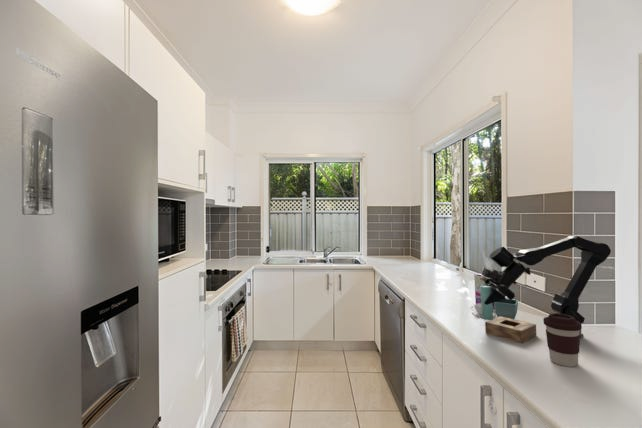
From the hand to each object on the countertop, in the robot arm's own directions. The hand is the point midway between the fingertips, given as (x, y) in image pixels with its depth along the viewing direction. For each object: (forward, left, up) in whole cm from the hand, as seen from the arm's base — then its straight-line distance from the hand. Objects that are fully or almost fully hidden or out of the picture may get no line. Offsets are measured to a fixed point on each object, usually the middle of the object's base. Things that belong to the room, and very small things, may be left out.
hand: (483, 302), depth 129 cm
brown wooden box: (-7, -7, -13) cm, 16 cm away
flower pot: (+2, -23, -13) cm, 27 cm away
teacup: (+13, -24, -13) cm, 31 cm away
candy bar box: (+20, -40, -13) cm, 47 cm away
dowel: (-1, -1, -7) cm, 7 cm away
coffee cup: (-29, +5, -13) cm, 32 cm away
